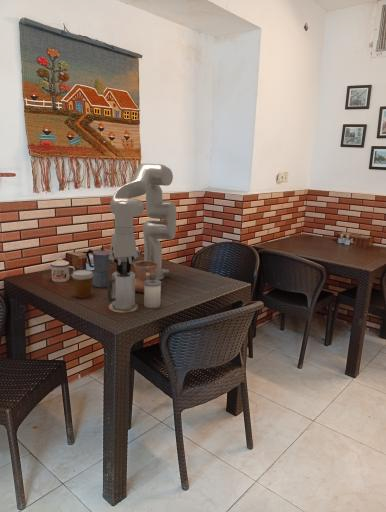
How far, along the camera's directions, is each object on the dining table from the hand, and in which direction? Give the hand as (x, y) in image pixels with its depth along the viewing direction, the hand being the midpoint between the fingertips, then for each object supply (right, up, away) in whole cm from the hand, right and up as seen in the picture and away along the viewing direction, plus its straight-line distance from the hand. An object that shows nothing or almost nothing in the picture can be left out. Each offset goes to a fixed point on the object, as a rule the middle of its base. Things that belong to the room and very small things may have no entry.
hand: (123, 272), depth 169 cm
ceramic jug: (+6, -10, +28) cm, 31 cm away
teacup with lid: (-38, -6, +38) cm, 54 cm away
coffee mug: (-10, +3, +76) cm, 77 cm away
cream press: (+11, -16, +7) cm, 21 cm away
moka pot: (-18, -8, +33) cm, 38 cm away
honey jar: (-21, -12, +15) cm, 29 cm away
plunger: (-1, -13, +3) cm, 13 cm away
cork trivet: (-1, -16, +4) cm, 17 cm away
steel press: (-2, -15, +3) cm, 16 cm away
